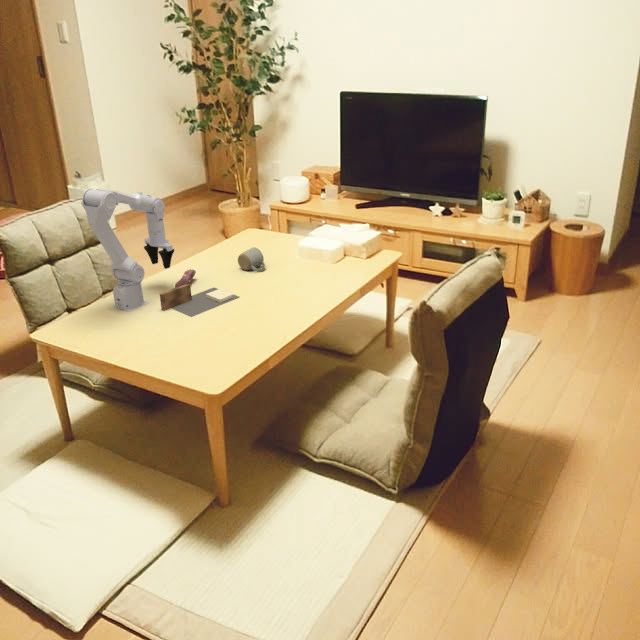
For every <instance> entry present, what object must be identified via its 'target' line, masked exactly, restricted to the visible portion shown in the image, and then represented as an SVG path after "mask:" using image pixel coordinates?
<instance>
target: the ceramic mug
mask: <svg viewBox="0 0 640 640" xmlns="http://www.w3.org/2000/svg"><path fill="white" fill-rule="evenodd" d="M237 263H238V266H239V267H240V268H241V269H242V270H244V271H250V270H253V271H255V272H257V273H260V272H261V271H262V272H263V270H265V269H266V263H265V262H264V255H263V252H262V250H260V249H259V248H257V247H251V248H249V249H247V250H246V251H243V252H242V253H240V254H239V255H238V257H237ZM260 266H262V268H257V267H260Z"/></svg>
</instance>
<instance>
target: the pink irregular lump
mask: <svg viewBox="0 0 640 640" xmlns="http://www.w3.org/2000/svg"><path fill="white" fill-rule="evenodd" d="M196 273H197V272H196V270H195V269H191V268H189V269H187V270H186V271H184V272H183V275H182V276H181V278H180V279H179V280H178V281H177V282H176V283H175V284H174V288H176V287H179V286H182V285H185V284H187V283H188V284H190V283H192V282H193V278H194V277H195V275H196Z"/></svg>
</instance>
